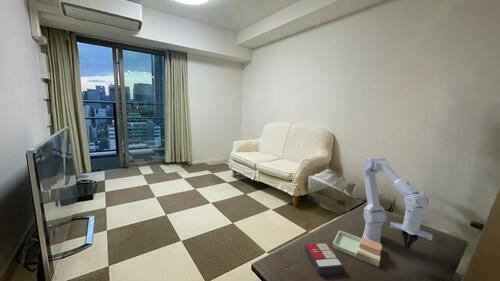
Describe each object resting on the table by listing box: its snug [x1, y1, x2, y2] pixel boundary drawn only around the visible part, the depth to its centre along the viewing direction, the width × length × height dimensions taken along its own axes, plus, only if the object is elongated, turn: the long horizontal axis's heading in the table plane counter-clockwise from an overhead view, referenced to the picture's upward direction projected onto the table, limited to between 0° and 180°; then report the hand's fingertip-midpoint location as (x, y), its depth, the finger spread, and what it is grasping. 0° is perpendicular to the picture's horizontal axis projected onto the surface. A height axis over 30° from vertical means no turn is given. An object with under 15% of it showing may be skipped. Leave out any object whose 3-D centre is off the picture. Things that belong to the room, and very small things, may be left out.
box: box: [331, 230, 362, 259], centre depth 104 cm, size 14×11×2 cm
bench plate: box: [356, 237, 383, 268], centre depth 98 cm, size 14×9×3 cm, turn 144°
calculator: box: [304, 242, 344, 276], centre depth 93 cm, size 11×4×15 cm
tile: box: [360, 236, 382, 255], centre depth 98 cm, size 6×8×2 cm
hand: (406, 247), depth 92 cm, fingers closed
